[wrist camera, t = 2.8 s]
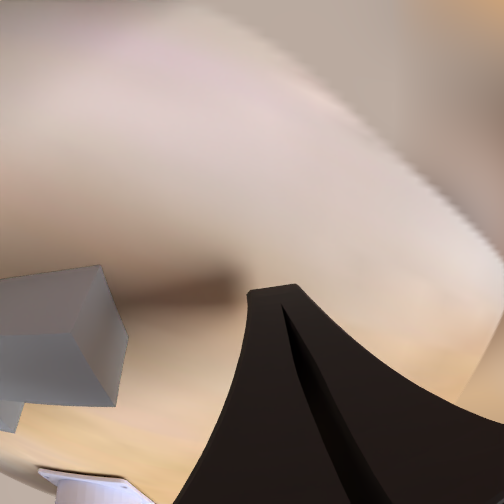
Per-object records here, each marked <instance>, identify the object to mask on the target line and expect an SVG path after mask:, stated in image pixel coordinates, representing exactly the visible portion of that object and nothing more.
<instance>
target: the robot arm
mask: <svg viewBox="0 0 504 504" xmlns="http://www.w3.org/2000/svg"><path fill="white" fill-rule="evenodd" d="M247 303H248V311H247V321H246V328H245V333H244V339H243V344H242V349H241V353H240V357H239V360H238V364H237V367H236V371H235V374H234V378H233V381H232V384H231V387H230V390H229V393H228V396H227V398H226V401H225V404H224V406H223V409H222V411H221V414H220V416H219V418H218V421H217V423H216V425H215V427H214V430H213V432H212V434H211V436H210V438H209V441H208V443H207V445H206V447H205V449H204V451H203V453H202V455H201V457H200V458H199V460H198V462H197V464H196V465H195V467H194V469H193V471H192V472H191V474H190V476H189V478H188V479H187V481H186V483H185V485H184V486H183V488H182V490H181V491H180V493H179V495H178V496H177V498H176V499H175V501H174V502H173V504H504V424H501V423H498V422H495V421H492V420H489V419H486V418H483V417H481V416H479V415H476V414H474V413H471V412H469V411H467V410H464V409H462V408H460V407H458V406H456V405H454V404H451V403H449V402H448V401H446V400H444V399H442V398H440V397H438V396H436V395H434V394H432V393H431V392H429V391H427V390H425V389H423V388H421V387H419V386H418V385H416V384H415V383H413V382H411V381H410V380H408V379H406V378H405V377H403V376H402V375H400V374H399V373H397V372H396V371H394V370H393V369H392V368H390V367H389V366H387V365H386V364H384V363H383V362H382V361H380V360H379V359H378V358H376V357H375V356H374V355H373V354H371V353H370V352H369V351H368V350H366V349H365V348H364V347H363V346H361V345H360V344H359V343H358V342H356V341H355V340H354V339H353V338H352V337H351V336H349V335H348V334H347V333H346V332H345V331H344V330H343V329H342V328H341V327H340V326H338V325H337V324H336V323H335V322H334V321H333V320H332V319H331V318H330V317H329V316H328V315H327V314H326V313H325V312H324V311H323V310H322V309H321V308H320V307H319V306H318V305H317V304H316V303H315V302H314V301H313V300H312V299H311V298H310V297H309V296H308V295H307V294H306V293H305V292H304V291H303V290H302V289H301V288H300V287H299V286H298V285H297V284H289V285H283V286H276V287H269V288H262V289H255V290H250V291H249V292H248V293H247ZM38 473H39V474H40V475H41V476H43V477H44V478H45V479H47V480H48V481H50V482H51V483H52V484H54V485H55V486H57V493H56V501H55V504H155V503H154V502H153V501H151V500H150V499H149V498H147V497H146V496H145V495H144V494H142V493H141V492H140V491H139V490H137V489H136V488H135V487H134V486H133V485H131V484H130V483H129V482H128V481H127V480H125V479H121V478H108V477H97V476H88V475H80V474H72V473H65V472H59V471H53V470H48V469H42V468H39V469H38Z"/></svg>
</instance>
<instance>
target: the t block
mask: <svg viewBox="0 0 504 504" xmlns="http://www.w3.org/2000/svg"><path fill="white" fill-rule="evenodd" d="M128 338H129V337H128V334H127V332H126V330H125V327H124V325H123V323H122V320H121V318H120V315H119V313H118V310H117V308H116V305H115V303H114V300H113V298H112V295H111V292H110V290H109V287H108V284H107V282H106V279H105V276H104V273H103V270H102V267H101V265H96V266H89V267H82V268H75V269H68V270H61V271H54V272H47V273H40V274H33V275H26V276H19V277H12V278H6V279H0V431H5V432H10V433H15V431H16V428H17V425H18V422H19V418H20V415H21V412H22V409H23V406H24V403H35V404H47V405H63V406H88V407H116V402H117V396H118V390H119V384H120V378H121V373H122V368H123V362H124V357H125V352H126V348H127V343H128Z"/></svg>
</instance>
